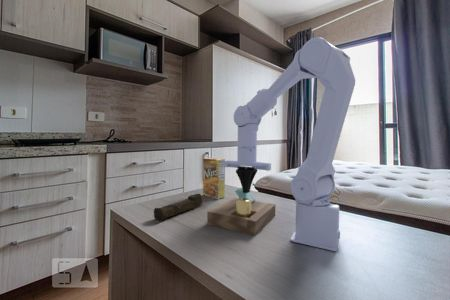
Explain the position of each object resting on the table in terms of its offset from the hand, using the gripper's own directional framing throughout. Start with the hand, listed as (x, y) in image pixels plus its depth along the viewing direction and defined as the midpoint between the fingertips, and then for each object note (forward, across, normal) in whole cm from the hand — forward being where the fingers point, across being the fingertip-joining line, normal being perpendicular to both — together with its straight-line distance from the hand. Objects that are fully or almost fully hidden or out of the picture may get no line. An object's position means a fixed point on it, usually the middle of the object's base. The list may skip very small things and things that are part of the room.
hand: (246, 192), depth 67 cm
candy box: (+7, +20, -13) cm, 25 cm away
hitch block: (+7, -1, +4) cm, 8 cm away
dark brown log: (+8, +19, +8) cm, 22 cm away
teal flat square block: (+2, +1, 0) cm, 2 cm away
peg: (+7, -3, +8) cm, 11 cm away
